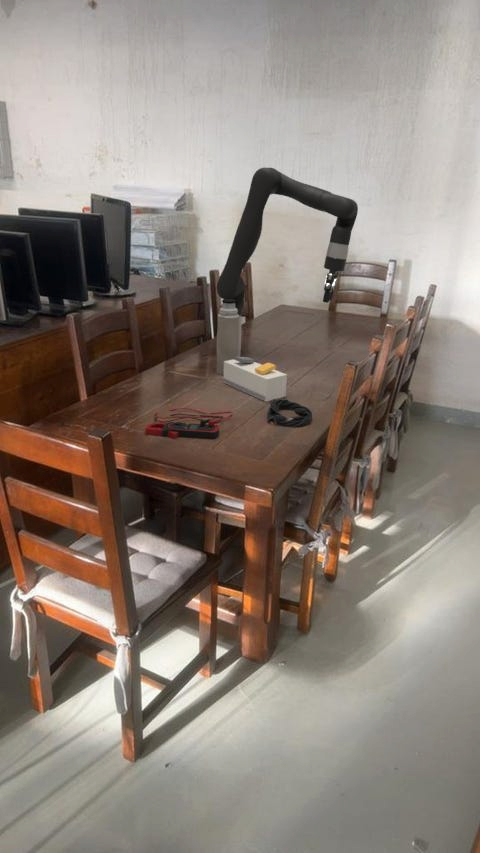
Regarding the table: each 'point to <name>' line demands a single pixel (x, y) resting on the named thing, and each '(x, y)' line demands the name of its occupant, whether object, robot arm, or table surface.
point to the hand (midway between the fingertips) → (327, 301)
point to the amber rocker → (265, 368)
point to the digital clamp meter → (187, 426)
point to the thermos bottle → (227, 334)
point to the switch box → (255, 380)
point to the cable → (286, 404)
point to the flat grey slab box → (244, 359)
